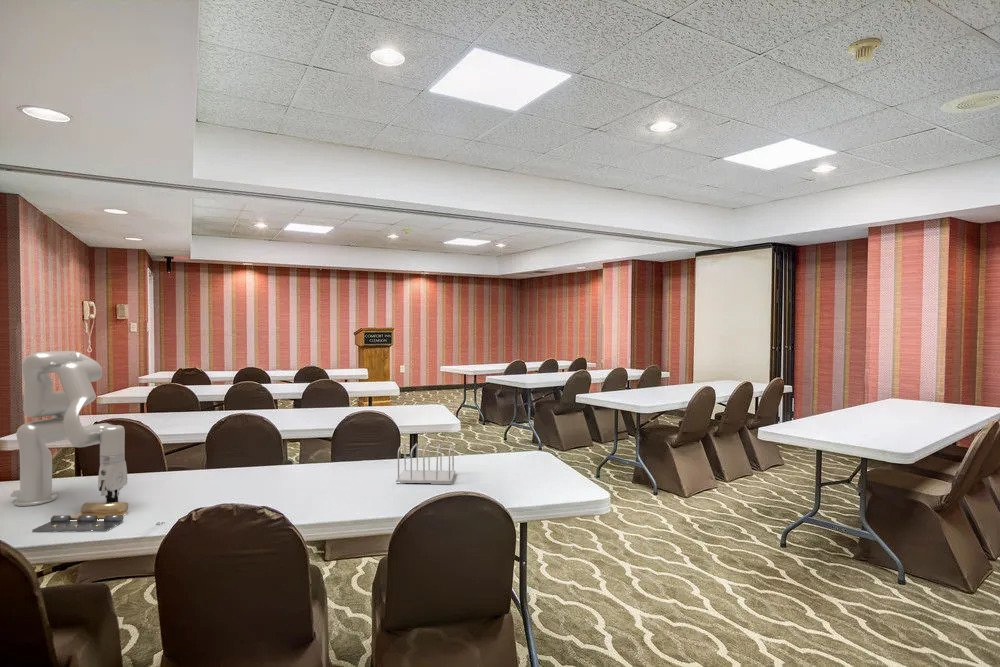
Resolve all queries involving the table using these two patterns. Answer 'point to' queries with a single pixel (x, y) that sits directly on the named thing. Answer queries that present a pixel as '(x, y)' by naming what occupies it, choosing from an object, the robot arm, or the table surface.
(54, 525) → the steel hinge leaf
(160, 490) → the table surface
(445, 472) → the file sorter
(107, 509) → the bronze hinge leaf
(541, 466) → the table surface
